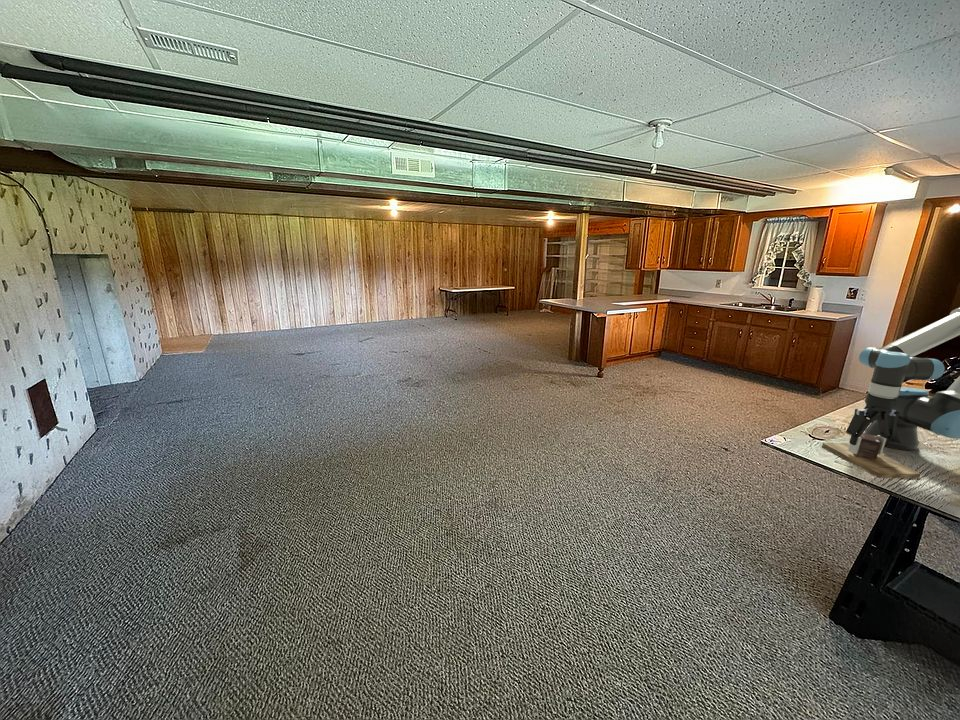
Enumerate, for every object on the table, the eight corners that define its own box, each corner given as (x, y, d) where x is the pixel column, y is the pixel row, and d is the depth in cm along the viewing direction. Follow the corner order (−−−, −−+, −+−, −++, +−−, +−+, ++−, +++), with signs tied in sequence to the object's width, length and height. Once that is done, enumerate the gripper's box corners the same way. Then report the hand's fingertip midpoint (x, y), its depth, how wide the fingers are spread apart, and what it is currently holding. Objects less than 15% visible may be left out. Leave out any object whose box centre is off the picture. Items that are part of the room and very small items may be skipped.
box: (851, 449, 144) (856, 431, 142) (874, 454, 140) (879, 436, 138) (853, 455, 139) (858, 437, 137) (876, 460, 135) (882, 442, 134)
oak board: (857, 446, 149) (858, 442, 149) (919, 477, 128) (921, 473, 128) (821, 446, 149) (822, 442, 149) (878, 477, 128) (879, 473, 128)
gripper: (901, 391, 137) (883, 448, 143) (842, 391, 137) (827, 447, 143) (924, 399, 129) (904, 458, 135) (862, 398, 130) (845, 457, 136)
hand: (864, 452), depth 139 cm, fingers closed on box, 8 cm apart
